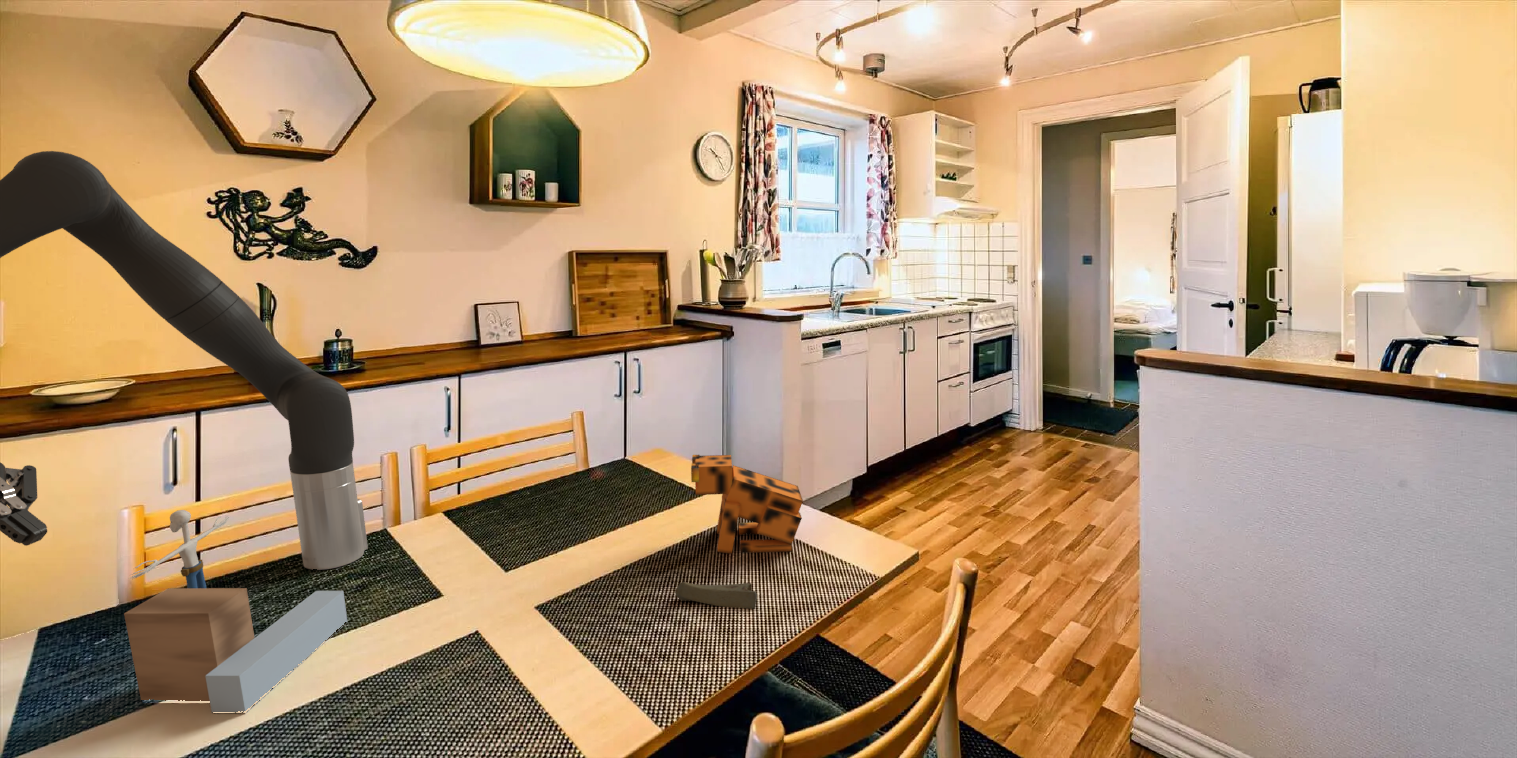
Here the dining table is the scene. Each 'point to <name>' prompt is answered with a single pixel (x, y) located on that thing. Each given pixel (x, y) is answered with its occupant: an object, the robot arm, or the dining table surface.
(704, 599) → the grey long curved piece
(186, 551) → the alien figure
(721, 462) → the toy animal
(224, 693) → the blue-gray rectangular bar
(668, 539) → the dining table surface
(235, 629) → the walnut block
